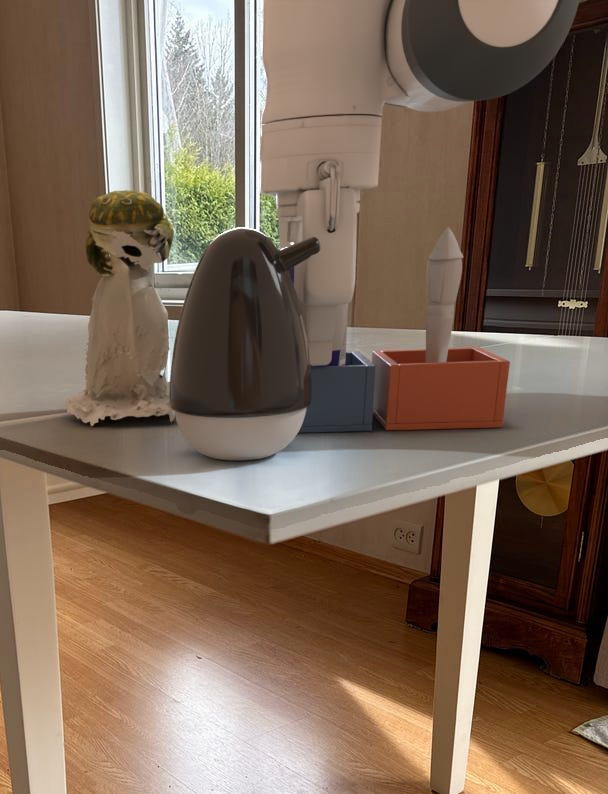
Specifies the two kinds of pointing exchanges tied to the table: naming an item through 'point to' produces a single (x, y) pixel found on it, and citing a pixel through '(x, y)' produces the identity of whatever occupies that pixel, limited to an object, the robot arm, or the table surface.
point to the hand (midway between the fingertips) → (312, 356)
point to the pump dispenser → (242, 349)
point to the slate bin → (341, 397)
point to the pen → (441, 295)
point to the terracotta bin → (439, 389)
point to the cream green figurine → (126, 311)
